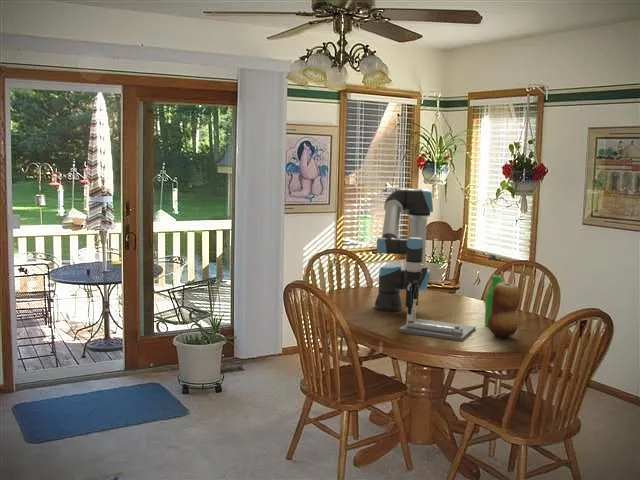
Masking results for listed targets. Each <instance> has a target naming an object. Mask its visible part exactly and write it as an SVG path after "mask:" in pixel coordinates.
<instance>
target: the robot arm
mask: <svg viewBox="0 0 640 480" xmlns="http://www.w3.org/2000/svg"><path fill="white" fill-rule="evenodd" d="M433 203H434V201H433V194H432V191H431V190H430V189H424V188H399V189H395V190H394V191H393V192H391V193H390V194H389V195H388V196H387V198H386V200H385V201H384V206H383V210H384V212H385V213H384V220H383V227H382V232H381V233H382V235H381V237H378V238H377V240H376V252H377V253H378V254H385V255H404V256H406V260H405V265H404V267H403V266H402V265H401V264H387V265H383V266H380V268H379V272H378V289H377V290H378V291H377V292H378V293H377V296H376V298H375V302H374V305H373V306H374V309H376V310H379V311H386V312H397V311H402V310H403V309H404V308H403V307H404V305H403V301H402V296H401V290H402V291H405V307H406V322H407V321H413V299H417V302H416V306H419V294H420V292H421V291H422V292H424V291H426V290H427V288H428V284H429V279H430V275H431V273H430V272H431V270H430V269H429V268H428V265H427V264H426V263H425V262H426V247H427V246H426V245H427V242H426V241H427V228H428V227H427V226H428V218H429V217H430V216H431V213H433V212H434V206H433V205H434V204H433ZM403 211H406V212H407V215H408V216H409V218H410V222H409V223H410V225H409V237H407V238H398V236H399V235H398V234H399V227H400V217H401V213H402V212H403ZM416 318H417V310H416V311H415V319H416Z"/></svg>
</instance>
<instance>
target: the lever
mask: <svg viewBox="0 0 640 480" xmlns="http://www.w3.org/2000/svg"><path fill="white" fill-rule="evenodd" d="M416 302H417V299H413V321H407V320H406V322H405V324H406V326H408V327H415V328H422V329H429V330H436V331H443V332H450V333H453V334H463V329H462V328H460V326H455V327H447V326H440V325H433V324H425V323H418V322H415V311H416V312H417V305H416Z"/></svg>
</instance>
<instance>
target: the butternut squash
mask: <svg viewBox="0 0 640 480" xmlns="http://www.w3.org/2000/svg"><path fill="white" fill-rule="evenodd" d="M520 296H521V293H520V288H519V286H518V285H516V284H511V283H507V282H501V283H498V284H497V285H496V286H495V288H494V291H493V296H492V311H491V314H490V316H489V319H488V326H487V327H488V329H489V331H490V332H491V334H493V335H494V336H495V337H496V338H501V339H502V338H509V337H511V336H512V335H514V334H515V333H517V330H518V327H519V321H518V315H517V310H518V307H519V302H520Z"/></svg>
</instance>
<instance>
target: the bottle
mask: <svg viewBox="0 0 640 480" xmlns="http://www.w3.org/2000/svg"><path fill="white" fill-rule="evenodd" d="M491 279H492V285H491V288H489V290H488V292H487V293H486V296H485V298H486V299H485V310H484V311H485V313H484V324H485V325H486V326H487V327H489V326H488V319H489V316H490V314H491V311H492V296H493V291H494V288H495V286H496V285H497V284H498V283H502V276H501V275H498V274H493V275H492V278H491Z"/></svg>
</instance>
